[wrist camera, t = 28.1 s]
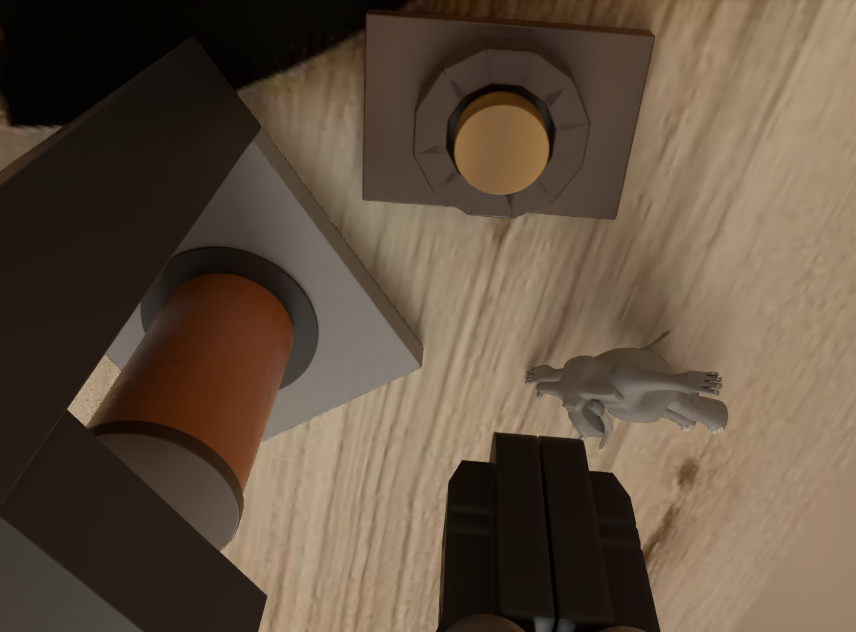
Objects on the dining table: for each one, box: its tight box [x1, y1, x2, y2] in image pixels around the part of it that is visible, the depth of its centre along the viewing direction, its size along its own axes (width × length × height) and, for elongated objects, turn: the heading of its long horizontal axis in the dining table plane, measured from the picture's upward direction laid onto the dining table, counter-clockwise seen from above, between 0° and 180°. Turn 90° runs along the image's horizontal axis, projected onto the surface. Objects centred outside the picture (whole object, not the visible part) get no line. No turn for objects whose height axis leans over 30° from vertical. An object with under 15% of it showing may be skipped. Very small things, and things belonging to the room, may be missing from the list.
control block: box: [362, 9, 655, 220], centre depth 28 cm, size 10×7×2 cm
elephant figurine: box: [524, 330, 728, 449], centre depth 33 cm, size 10×6×9 cm
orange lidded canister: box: [86, 273, 294, 551], centre depth 29 cm, size 6×6×10 cm
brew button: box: [454, 91, 549, 195], centre depth 27 cm, size 3×3×2 cm
